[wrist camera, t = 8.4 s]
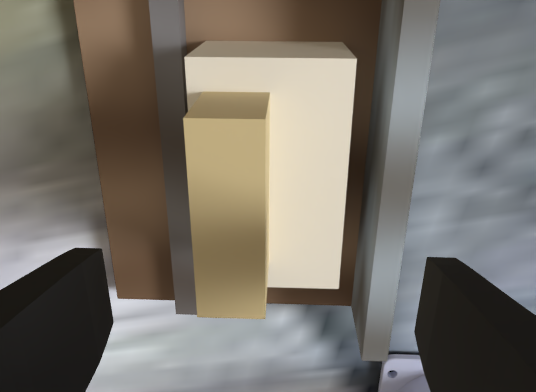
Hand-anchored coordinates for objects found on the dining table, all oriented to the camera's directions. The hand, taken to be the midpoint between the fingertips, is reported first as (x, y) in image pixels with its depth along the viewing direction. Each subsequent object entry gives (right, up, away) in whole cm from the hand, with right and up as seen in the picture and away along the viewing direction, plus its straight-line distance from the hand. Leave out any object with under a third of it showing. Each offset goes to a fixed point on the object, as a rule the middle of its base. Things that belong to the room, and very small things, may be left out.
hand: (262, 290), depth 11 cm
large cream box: (0, +4, +8) cm, 9 cm away
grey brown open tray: (-1, +4, +9) cm, 10 cm away
